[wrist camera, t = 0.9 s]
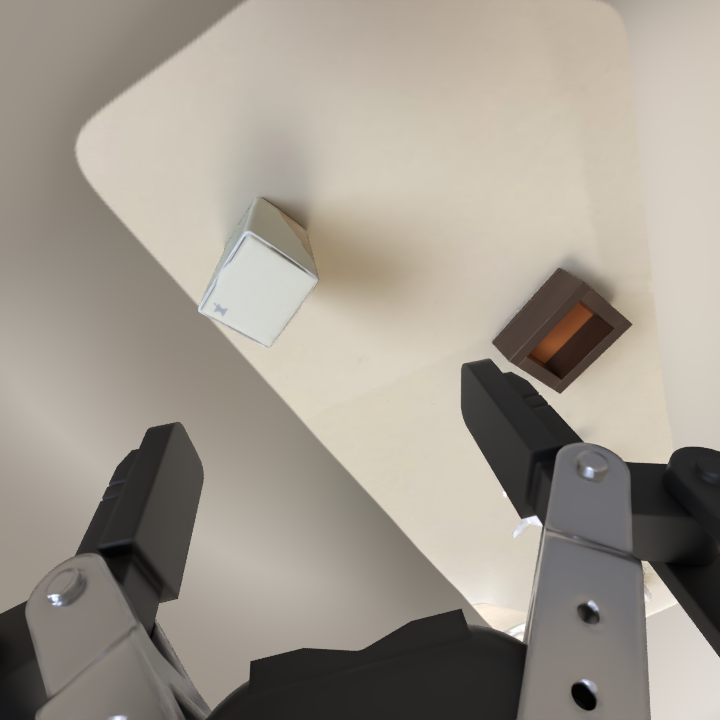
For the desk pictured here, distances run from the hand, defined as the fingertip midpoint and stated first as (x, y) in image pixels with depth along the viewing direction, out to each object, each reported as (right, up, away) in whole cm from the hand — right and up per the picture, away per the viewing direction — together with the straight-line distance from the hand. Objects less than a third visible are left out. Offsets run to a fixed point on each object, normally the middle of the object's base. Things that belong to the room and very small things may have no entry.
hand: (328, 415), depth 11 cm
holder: (+19, +5, +26) cm, 33 cm away
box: (-6, +11, +18) cm, 22 cm away
